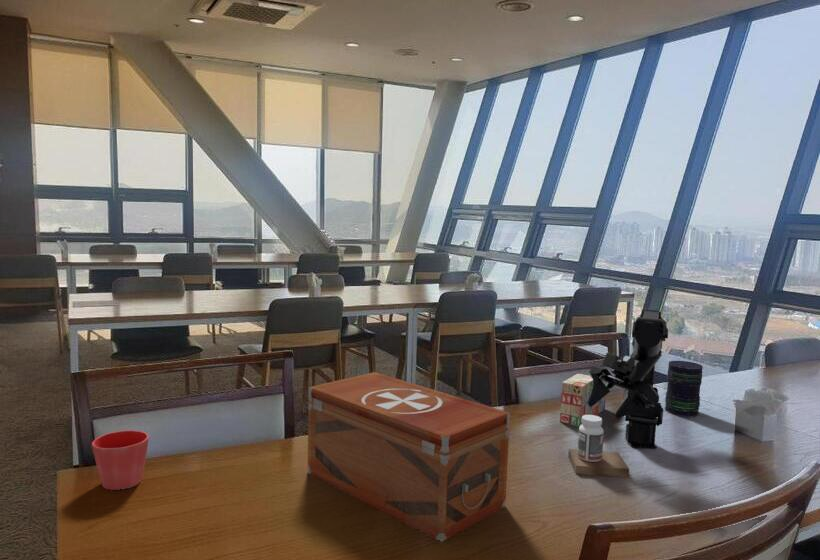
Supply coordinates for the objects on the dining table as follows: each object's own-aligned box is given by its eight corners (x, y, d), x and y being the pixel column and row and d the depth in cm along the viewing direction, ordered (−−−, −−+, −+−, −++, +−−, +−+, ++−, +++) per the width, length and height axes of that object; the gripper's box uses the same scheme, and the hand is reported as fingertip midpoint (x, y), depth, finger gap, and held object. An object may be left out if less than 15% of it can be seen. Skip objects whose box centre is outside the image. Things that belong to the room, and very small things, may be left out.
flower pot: (94, 476, 135) (93, 433, 133) (149, 469, 139) (148, 427, 138) (91, 497, 125) (89, 451, 124) (149, 489, 129) (149, 444, 128)
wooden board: (617, 459, 152) (618, 452, 152) (628, 477, 143) (629, 468, 142) (568, 456, 153) (568, 449, 153) (575, 473, 143) (576, 465, 143)
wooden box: (372, 449, 155) (374, 371, 152) (507, 506, 127) (512, 412, 124) (306, 472, 140) (307, 386, 138) (442, 543, 112) (447, 437, 110)
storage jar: (668, 404, 199) (672, 359, 197) (701, 411, 193) (706, 364, 191) (660, 412, 191) (664, 364, 189) (695, 419, 185) (699, 370, 183)
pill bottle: (603, 456, 149) (606, 416, 148) (600, 464, 144) (603, 423, 143) (579, 451, 152) (582, 412, 151) (575, 459, 147) (577, 419, 145)
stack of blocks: (585, 405, 196) (588, 367, 194) (605, 409, 192) (608, 370, 191) (559, 422, 178) (561, 381, 177) (580, 427, 175) (583, 385, 173)
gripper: (597, 334, 157) (559, 380, 154) (653, 350, 140) (613, 402, 137) (619, 362, 161) (582, 407, 158) (676, 381, 144) (637, 432, 141)
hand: (602, 411), depth 148 cm, fingers open, 9 cm apart
